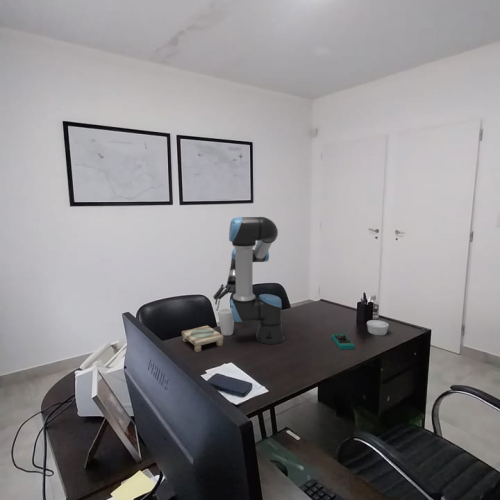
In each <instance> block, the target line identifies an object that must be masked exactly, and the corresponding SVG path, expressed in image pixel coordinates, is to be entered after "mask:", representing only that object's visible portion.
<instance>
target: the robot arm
mask: <svg viewBox="0 0 500 500" xmlns="http://www.w3.org/2000/svg"><path fill="white" fill-rule="evenodd" d="M278 233H279V230H278V227H277V225H276V223H274V221H273V220H271V219H270V218H268V217H265V216H239V217H233V218H232V219H231V221H230V225H229V232H228V235H229V236H228V241H229V242H231V245H232V246H233V247H234V248H233V249H232V251H231V261H230V269H229V272H228V277H227V282H226V285H225V284H223V283H221V285H220V287H219V289H218V290H217V291H216V292H215V294H214V295H213V299H214V300H215V303H214V305H215V310H216V312H218V310H219V309H220V304H221V299H222V298H224V297H225V296H226V295H228V294H233V295H232V298H231V299H230V300H229V304H230V308H231V311H232V317H233V320H234V323H239V322H240V323H243V322H245V323H246V322H258V323H259V325H258V328H257V331H256V334H255V337H256V338H255V339H256V341H257V342H258V343H261V344H265V345H266V344H267V345H275V344H281V343H283V342H284V341H285V339H286V336H285V335H286V334H285V331H284V328H283V326H282V308H283V307H282V299H281V298H280V297H279V296H277V295H275V294H270V293H264V294H263V293H262V294H261V293H260V295H258V297H256V295H255V294H254V292H253V266H254V265H253V263H265V262H269V260H270V259H269V258H270V253H269V250H270V248H271V246H272V244H273V243H274V242H275V241H276V240H277V238H278V235H279V234H278Z"/></svg>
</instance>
